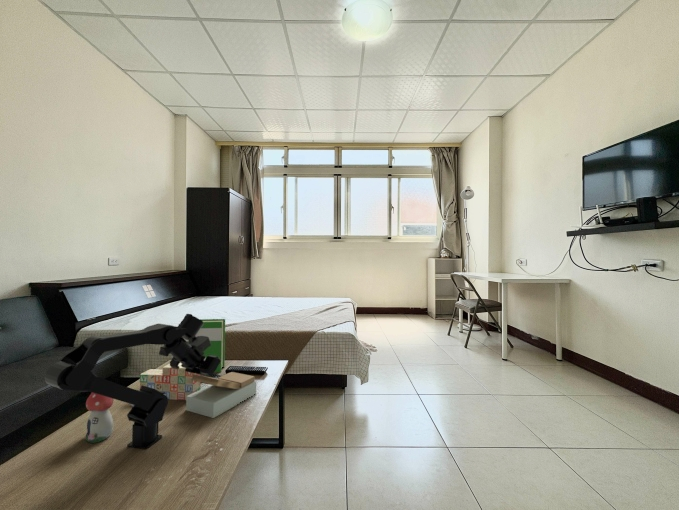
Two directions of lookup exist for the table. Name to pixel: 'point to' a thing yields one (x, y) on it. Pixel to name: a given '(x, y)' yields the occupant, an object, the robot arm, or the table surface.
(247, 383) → the white box
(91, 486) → the table surface
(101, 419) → the decorative ornament
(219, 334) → the hardback book
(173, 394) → the stack of blocks
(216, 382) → the board
